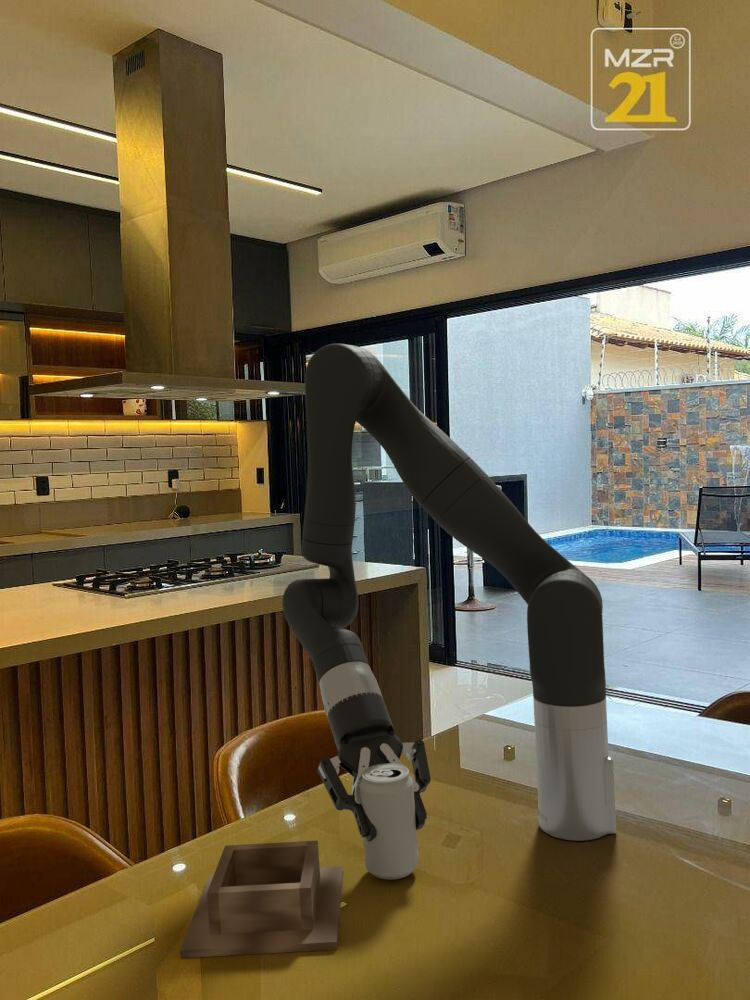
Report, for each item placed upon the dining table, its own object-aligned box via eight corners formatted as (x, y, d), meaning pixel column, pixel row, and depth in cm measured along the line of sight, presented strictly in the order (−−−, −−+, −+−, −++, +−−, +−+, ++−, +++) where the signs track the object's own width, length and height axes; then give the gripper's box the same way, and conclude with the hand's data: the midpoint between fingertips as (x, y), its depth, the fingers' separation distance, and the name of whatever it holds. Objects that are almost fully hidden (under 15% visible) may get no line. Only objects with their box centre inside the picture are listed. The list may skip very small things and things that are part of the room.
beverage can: (414, 884, 100) (407, 783, 99) (359, 881, 101) (353, 781, 100) (422, 857, 106) (416, 761, 105) (371, 854, 107) (365, 760, 106)
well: (343, 872, 104) (340, 829, 104) (337, 949, 88) (333, 899, 88) (210, 879, 104) (207, 837, 104) (180, 957, 88) (176, 907, 88)
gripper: (306, 700, 106) (345, 833, 96) (412, 681, 112) (460, 805, 101) (296, 730, 112) (333, 859, 101) (399, 711, 117) (443, 832, 107)
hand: (396, 831), depth 101 cm, fingers closed on beverage can, 5 cm apart
